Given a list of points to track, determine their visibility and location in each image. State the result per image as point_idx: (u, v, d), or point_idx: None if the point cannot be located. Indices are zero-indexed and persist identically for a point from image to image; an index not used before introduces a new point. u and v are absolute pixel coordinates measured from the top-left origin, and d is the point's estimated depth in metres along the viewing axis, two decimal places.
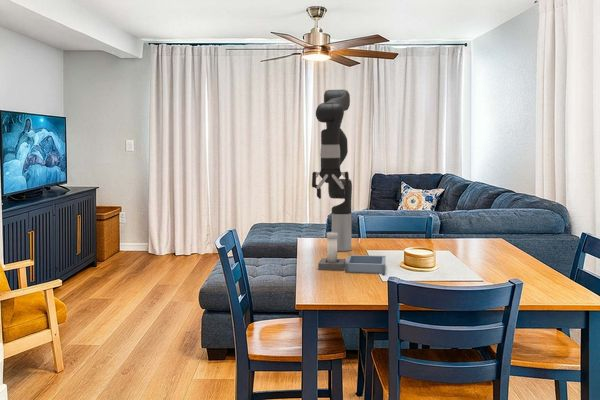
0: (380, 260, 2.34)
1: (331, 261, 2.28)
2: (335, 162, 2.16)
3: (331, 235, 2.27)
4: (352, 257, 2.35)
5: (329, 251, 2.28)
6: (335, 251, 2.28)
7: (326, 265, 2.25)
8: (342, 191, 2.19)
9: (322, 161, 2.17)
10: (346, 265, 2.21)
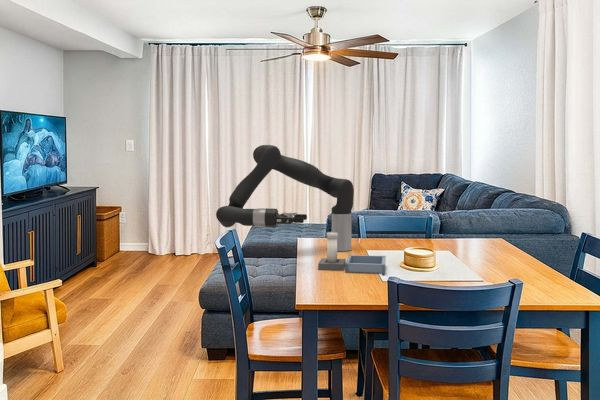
0: (380, 260, 2.34)
1: (331, 261, 2.28)
2: (269, 226, 2.30)
3: (331, 235, 2.27)
4: (352, 257, 2.35)
5: (329, 251, 2.28)
6: (335, 251, 2.28)
7: (326, 265, 2.25)
8: None
9: None
10: (346, 265, 2.21)
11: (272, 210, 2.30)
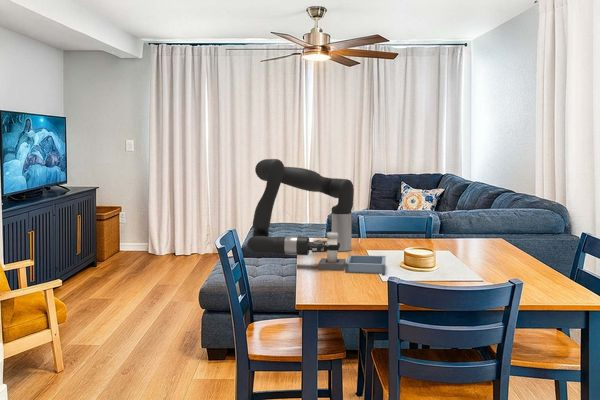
0: (380, 260, 2.34)
1: (331, 261, 2.28)
2: (301, 254, 2.30)
3: (331, 235, 2.27)
4: (352, 257, 2.35)
5: (329, 251, 2.28)
6: (335, 251, 2.28)
7: (326, 265, 2.25)
8: None
9: None
10: (346, 265, 2.21)
11: (304, 238, 2.29)
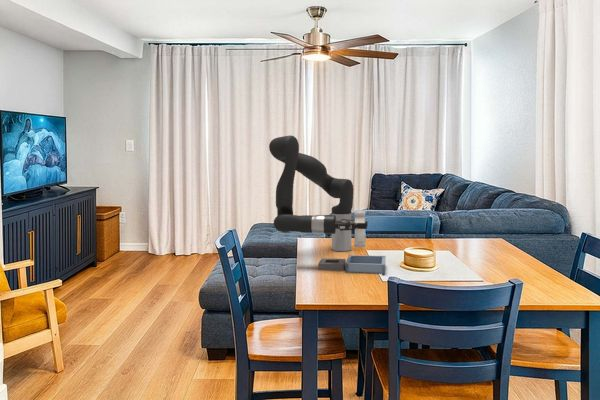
0: (380, 260, 2.34)
1: (359, 240, 2.25)
2: (328, 232, 2.27)
3: (359, 213, 2.24)
4: (352, 257, 2.35)
5: (357, 229, 2.25)
6: (363, 229, 2.25)
7: (326, 265, 2.25)
8: None
9: None
10: (346, 265, 2.21)
11: (331, 217, 2.26)
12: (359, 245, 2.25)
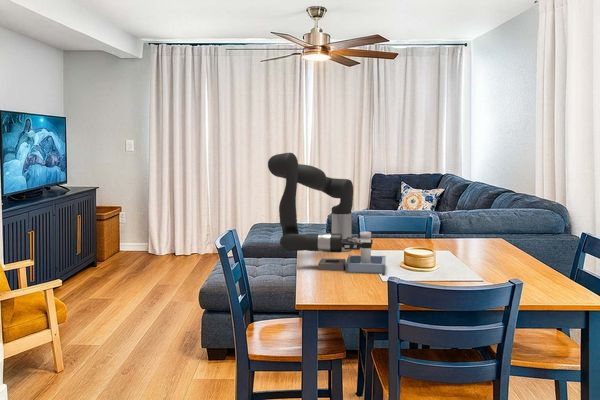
0: (380, 260, 2.34)
1: (365, 261, 2.26)
2: (334, 251, 2.27)
3: (365, 234, 2.24)
4: (352, 257, 2.35)
5: (363, 251, 2.26)
6: (369, 251, 2.26)
7: (326, 265, 2.25)
8: None
9: None
10: (346, 265, 2.21)
11: (337, 235, 2.27)
12: None
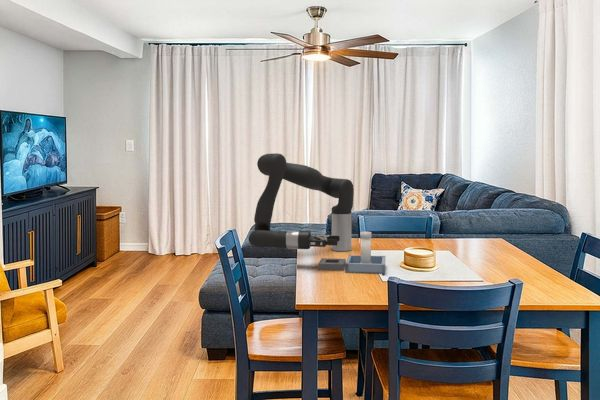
0: (380, 260, 2.34)
1: (365, 261, 2.26)
2: (302, 248, 2.29)
3: (365, 234, 2.24)
4: (352, 257, 2.35)
5: (363, 251, 2.26)
6: (369, 251, 2.26)
7: (326, 265, 2.25)
8: None
9: None
10: (346, 265, 2.21)
11: (305, 232, 2.29)
12: None
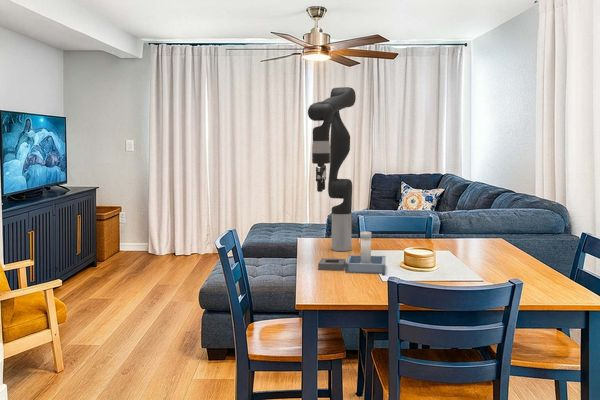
0: (380, 260, 2.34)
1: (365, 261, 2.26)
2: (313, 157, 2.37)
3: (365, 235, 2.24)
4: (352, 257, 2.35)
5: (363, 251, 2.26)
6: (369, 251, 2.26)
7: (326, 265, 2.25)
8: (318, 184, 2.36)
9: None
10: (346, 265, 2.21)
11: (328, 160, 2.37)
12: None
